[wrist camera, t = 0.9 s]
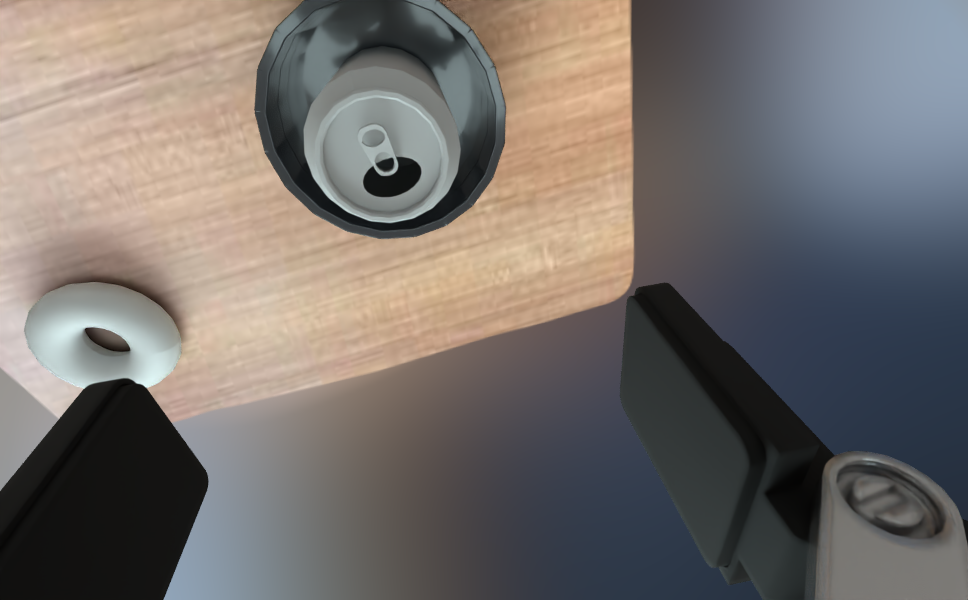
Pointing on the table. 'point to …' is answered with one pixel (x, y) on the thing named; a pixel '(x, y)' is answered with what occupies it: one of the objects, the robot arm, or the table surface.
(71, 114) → the table surface
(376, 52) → the can
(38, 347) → the donut
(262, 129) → the pot
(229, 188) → the table surface
